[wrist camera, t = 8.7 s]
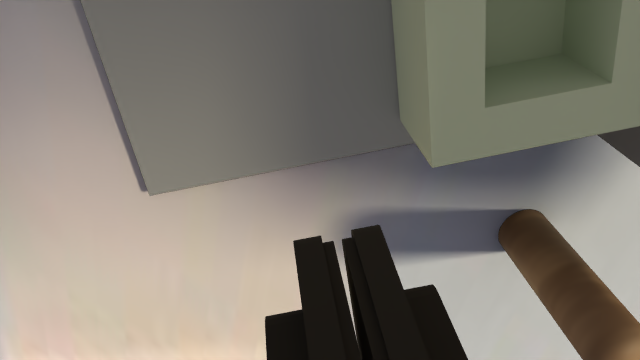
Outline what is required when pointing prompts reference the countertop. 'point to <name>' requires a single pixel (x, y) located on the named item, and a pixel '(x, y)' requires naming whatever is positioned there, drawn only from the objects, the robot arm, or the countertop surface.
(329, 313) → the robot arm
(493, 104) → the socket block
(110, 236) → the countertop surface
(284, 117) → the grey l-shaped plate
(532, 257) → the dowel
